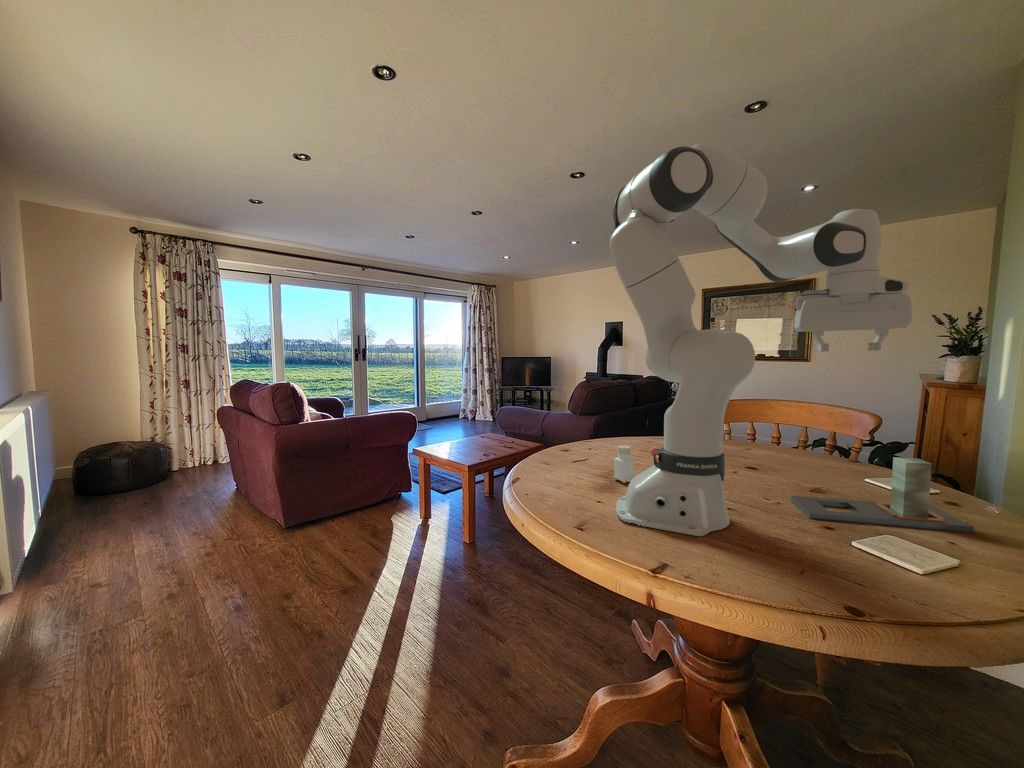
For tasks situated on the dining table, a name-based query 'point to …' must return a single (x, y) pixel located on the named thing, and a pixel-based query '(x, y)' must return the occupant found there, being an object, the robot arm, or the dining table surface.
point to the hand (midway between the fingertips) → (848, 351)
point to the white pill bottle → (624, 464)
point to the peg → (910, 487)
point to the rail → (877, 514)
